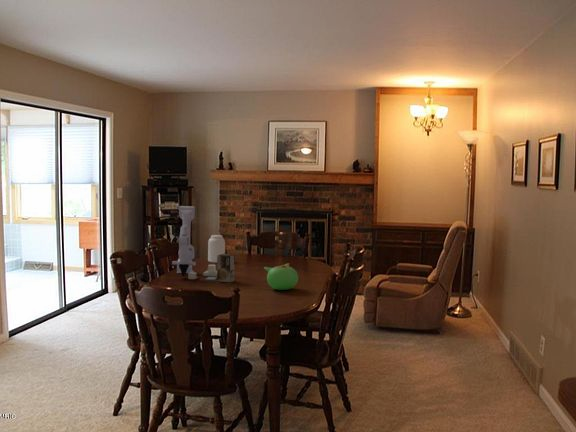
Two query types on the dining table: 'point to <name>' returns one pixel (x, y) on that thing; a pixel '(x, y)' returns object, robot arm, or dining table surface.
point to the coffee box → (225, 268)
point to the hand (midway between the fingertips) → (183, 276)
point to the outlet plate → (209, 274)
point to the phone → (211, 278)
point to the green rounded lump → (281, 277)
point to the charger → (211, 268)
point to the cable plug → (192, 275)
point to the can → (215, 247)
